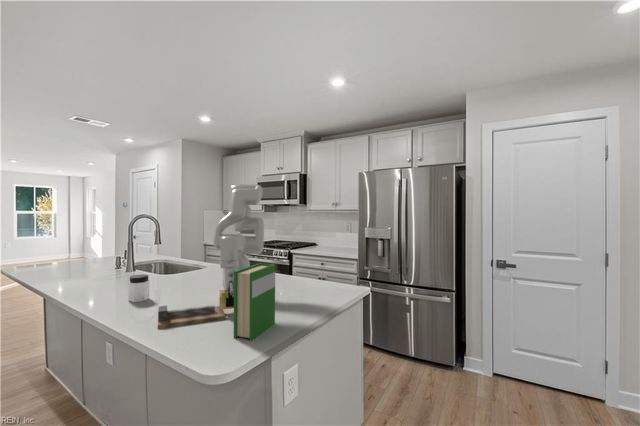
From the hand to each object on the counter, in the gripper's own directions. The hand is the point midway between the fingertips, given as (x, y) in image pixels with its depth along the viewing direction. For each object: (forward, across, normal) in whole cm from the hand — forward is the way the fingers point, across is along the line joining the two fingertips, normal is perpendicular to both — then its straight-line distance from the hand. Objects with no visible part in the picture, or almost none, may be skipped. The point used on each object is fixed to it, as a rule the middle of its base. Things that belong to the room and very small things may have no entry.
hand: (228, 304), depth 133 cm
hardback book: (+5, -23, -6) cm, 24 cm away
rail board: (+4, 0, +15) cm, 15 cm away
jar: (+4, +38, +38) cm, 54 cm away
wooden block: (+1, 0, 0) cm, 1 cm away
